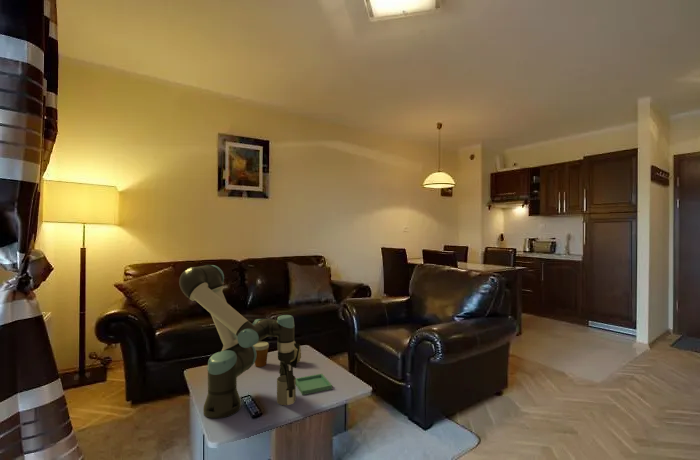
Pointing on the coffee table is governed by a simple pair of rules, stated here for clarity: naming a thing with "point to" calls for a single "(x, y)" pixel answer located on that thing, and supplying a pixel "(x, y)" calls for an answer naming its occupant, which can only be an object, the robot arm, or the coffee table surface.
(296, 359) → the decorative object
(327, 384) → the tray
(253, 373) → the coffee table surface
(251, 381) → the coffee table surface
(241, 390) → the coffee table surface
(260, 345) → the disposable coffee cup
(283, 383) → the cup
